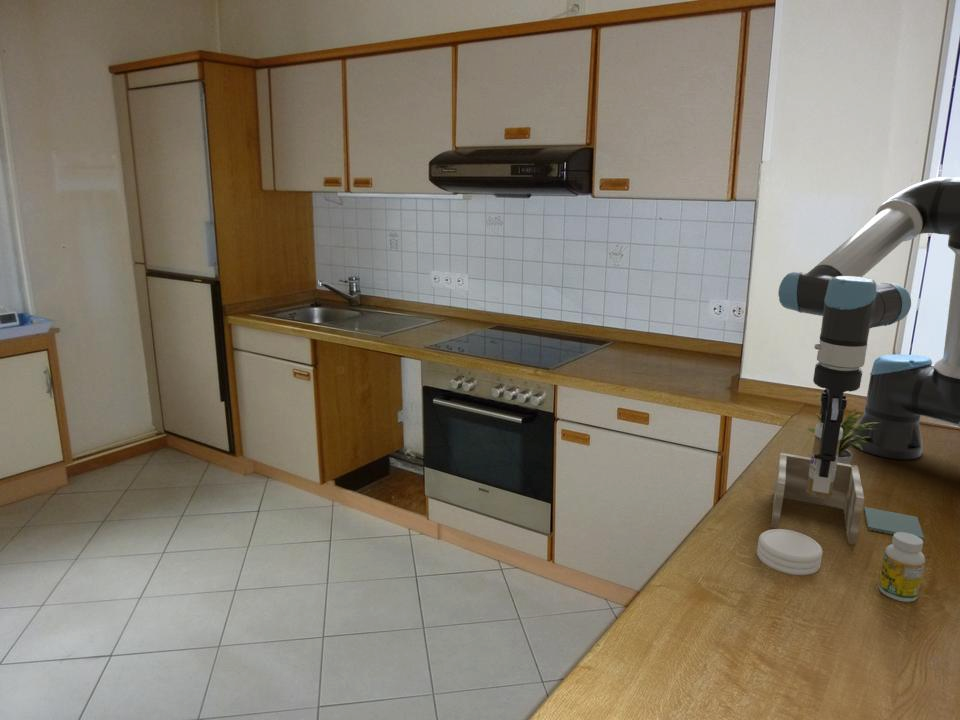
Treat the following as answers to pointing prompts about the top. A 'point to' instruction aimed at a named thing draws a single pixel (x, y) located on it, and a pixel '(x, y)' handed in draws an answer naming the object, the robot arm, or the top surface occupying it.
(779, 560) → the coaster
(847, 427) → the house plant
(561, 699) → the top surface
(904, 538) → the supplement bottle
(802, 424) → the top surface
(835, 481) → the birch box
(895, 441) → the robot arm
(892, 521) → the felt mat
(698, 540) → the top surface
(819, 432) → the sprinkles bottle
